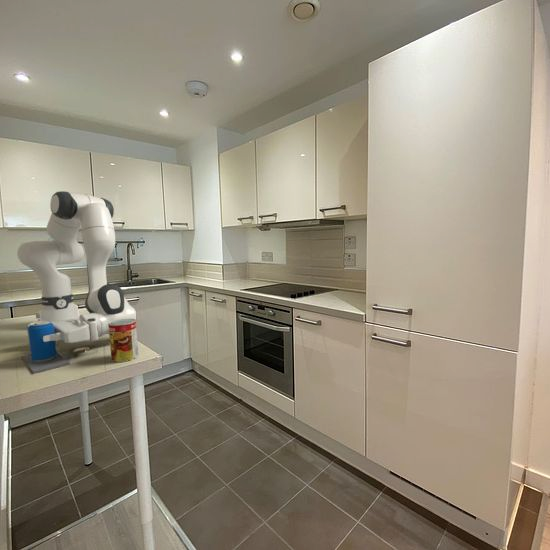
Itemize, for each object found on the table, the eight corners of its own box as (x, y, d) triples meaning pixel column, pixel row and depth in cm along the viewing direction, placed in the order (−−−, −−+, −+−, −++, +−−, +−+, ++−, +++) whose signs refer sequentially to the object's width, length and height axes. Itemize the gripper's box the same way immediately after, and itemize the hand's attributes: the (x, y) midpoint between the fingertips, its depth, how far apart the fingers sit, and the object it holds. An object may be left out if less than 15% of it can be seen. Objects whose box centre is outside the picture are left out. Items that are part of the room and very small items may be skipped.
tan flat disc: (70, 350, 109) (70, 350, 109) (87, 346, 113) (87, 346, 113) (75, 353, 105) (75, 353, 105) (92, 349, 109) (92, 349, 109)
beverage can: (40, 355, 102) (36, 320, 101) (61, 355, 103) (57, 319, 102) (26, 363, 96) (22, 325, 95) (48, 362, 96) (44, 325, 95)
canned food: (113, 355, 103) (110, 320, 102) (139, 351, 106) (136, 317, 104) (109, 364, 96) (106, 326, 94) (137, 360, 98) (134, 323, 97)
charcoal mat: (21, 357, 103) (21, 355, 103) (53, 350, 110) (53, 348, 110) (33, 373, 90) (33, 371, 90) (69, 364, 96) (69, 362, 96)
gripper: (78, 313, 115) (31, 321, 105) (97, 322, 101) (45, 331, 91) (79, 329, 116) (33, 339, 106) (99, 340, 102) (48, 352, 92)
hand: (39, 335), depth 98 cm, fingers open, 8 cm apart
